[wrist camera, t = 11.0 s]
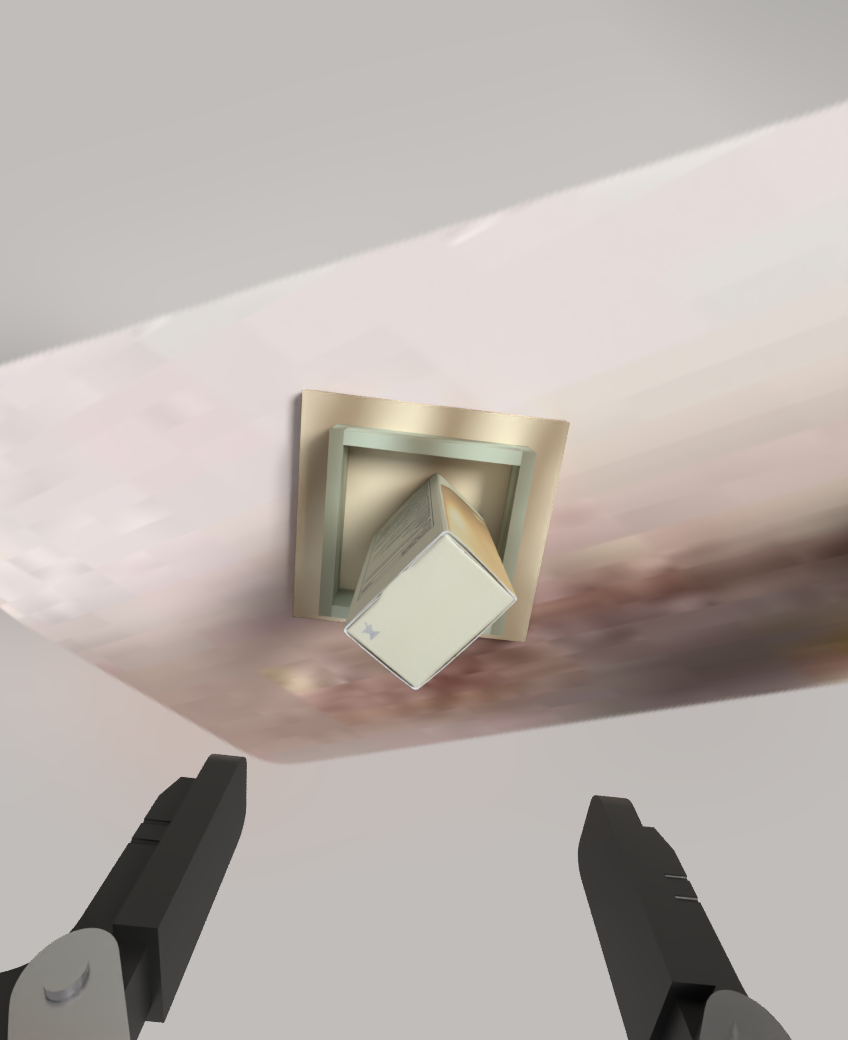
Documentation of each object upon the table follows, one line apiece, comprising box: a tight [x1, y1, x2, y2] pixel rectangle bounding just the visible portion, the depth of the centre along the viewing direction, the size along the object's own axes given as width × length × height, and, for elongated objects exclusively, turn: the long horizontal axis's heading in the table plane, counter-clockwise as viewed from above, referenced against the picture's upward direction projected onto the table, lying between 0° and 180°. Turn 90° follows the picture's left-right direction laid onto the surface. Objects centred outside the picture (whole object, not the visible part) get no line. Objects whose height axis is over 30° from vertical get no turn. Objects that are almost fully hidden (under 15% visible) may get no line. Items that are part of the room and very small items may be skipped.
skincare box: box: [343, 473, 517, 690], centre depth 25 cm, size 6×4×12 cm
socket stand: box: [293, 390, 570, 642], centre depth 31 cm, size 16×15×4 cm
